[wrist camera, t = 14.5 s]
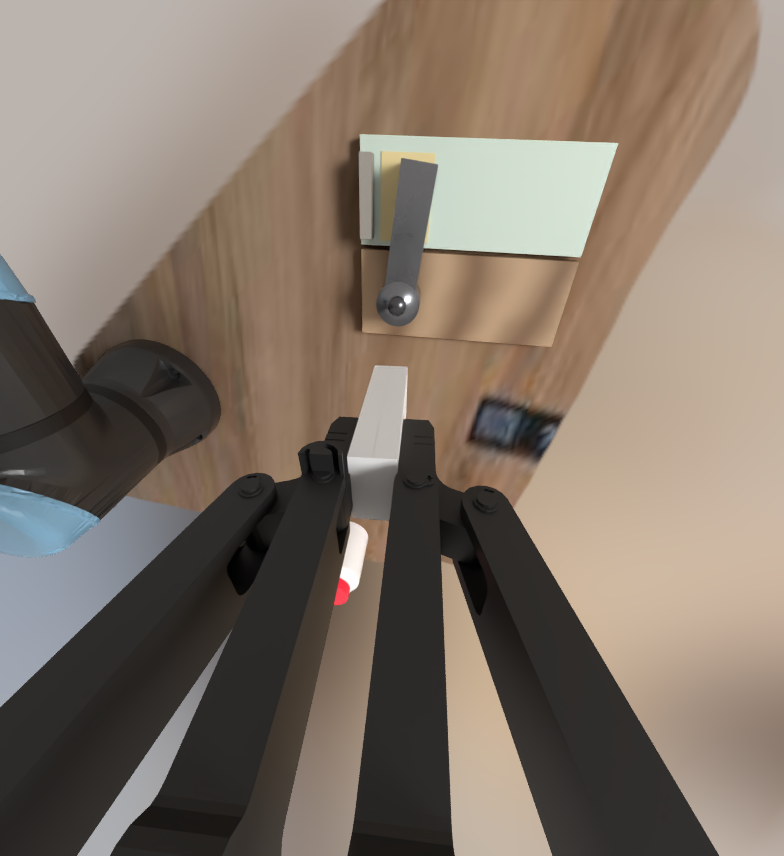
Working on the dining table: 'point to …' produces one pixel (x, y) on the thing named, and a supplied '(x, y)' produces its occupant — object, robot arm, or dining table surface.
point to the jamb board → (476, 297)
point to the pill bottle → (352, 563)
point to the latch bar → (407, 242)
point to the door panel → (489, 192)
